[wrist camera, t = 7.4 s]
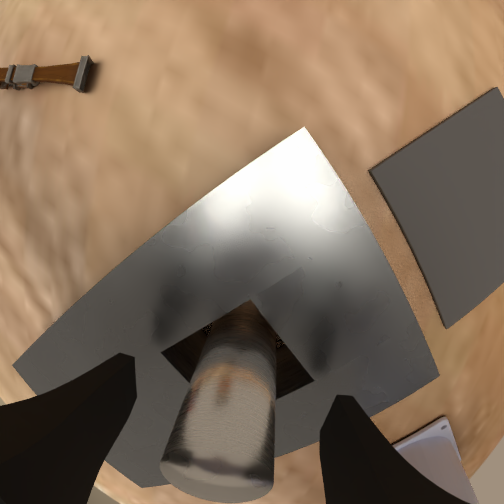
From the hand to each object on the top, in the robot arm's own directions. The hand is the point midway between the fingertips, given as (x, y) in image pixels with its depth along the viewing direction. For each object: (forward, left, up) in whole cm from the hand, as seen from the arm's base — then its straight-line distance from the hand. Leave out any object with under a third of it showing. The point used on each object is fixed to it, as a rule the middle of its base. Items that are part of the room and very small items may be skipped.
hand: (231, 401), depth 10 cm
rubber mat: (-2, -14, -6) cm, 15 cm away
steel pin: (0, 0, -6) cm, 6 cm away
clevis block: (0, +3, -6) cm, 7 cm away
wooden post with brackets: (+18, +2, -6) cm, 19 cm away
